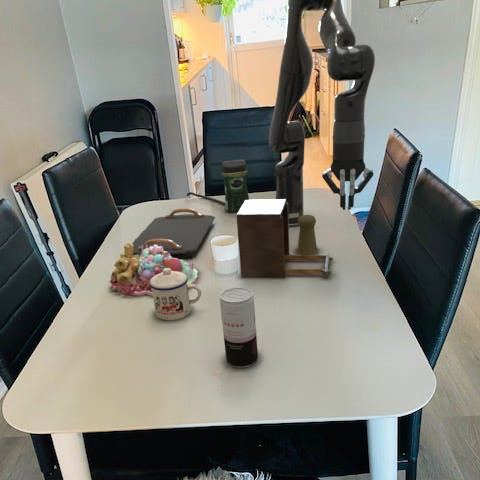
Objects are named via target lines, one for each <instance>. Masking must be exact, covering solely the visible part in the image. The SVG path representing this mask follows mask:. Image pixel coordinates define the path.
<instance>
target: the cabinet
mask: <svg viewBox="0 0 480 480" xmlns="http://www.w3.org/2000/svg"><path fill="white" fill-rule="evenodd" d="M235 216H236V227H237V228H236V229H237V239H238V251H239V252H238V253H239V263H240V273H241V274H240V276H241V278H243V279H245V278H246V279H247V278H250V279H252V278H253V279H254V278H257V279H258V278H259V279H285V278H286V275H285V269H286V267H285V265H286V262H285V263H284V255H291V254H290V226H289V221H288V203H286V199H276V198H272V199H270V198H269V199H249V200H245V202H244V203H243V205H242V206H241V208H240V210H239V211H238V212H236V215H235Z"/></svg>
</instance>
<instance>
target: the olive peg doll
mask: <svg viewBox="0 0 480 480" xmlns="http://www.w3.org/2000/svg"><path fill="white" fill-rule="evenodd" d="M316 223H317V219H316V217H315V216H314V215H313V214H304V215H302V216H300V217H299V219H298V225H297V226H298V227H299V232H298V241H297V242H298V243H297V250H296V253H297V254H298V255H315V254H316V253H317V252H318V245H317V238H316V232H315V226H316Z"/></svg>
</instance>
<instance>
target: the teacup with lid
mask: <svg viewBox="0 0 480 480" xmlns="http://www.w3.org/2000/svg"><path fill="white" fill-rule="evenodd" d="M187 281H188V279H187V276H186V275H185V274H184V273H181V272H177V271H171V269H170V268H164V269H163V272H162V273H160V274H157V275H155V276H154V277H152V279H151V280H150V287H151V289H152V294H153V296H152V299H153V306H154V310H155V315H156V317H157V318H158V319H160V320H164V321H176V320H181V319H183V318H185V317H187V316H188V315H189V314H190V312H191V310H192V308H191V305H193V304H196V303H198V302H199V301H200V299H201V297H202V290H201V288H200V286H198V285H197V284H195V283H194V284H187ZM188 288H189V289H194V290H196V292H197V297H195V298H194V299H190V294H189V293H190V291H189V289H188Z"/></svg>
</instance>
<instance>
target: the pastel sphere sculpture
mask: <svg viewBox="0 0 480 480" xmlns="http://www.w3.org/2000/svg"><path fill="white" fill-rule="evenodd" d="M123 251H124V253H121V254H119V256H120V257H119V258H118V259H117V260H116V261H115V262H114V265H113V266H114V267H115V268H114V269H113V271H111V272H112V273H111V275H110V280H109V283H110V285H109V288H110V290H114V291H113V294H114V293H118V292H119V291H122V293H121V296H133V295H134V296H143V295H148V296H151V297H153V294H152V289H151V287H150V280H151V279H152V277H154V276H155V275H157V274H160V273H162V272H163V269H164V268H170V269H171V271H177V272H181V273H184V274H185V275H186V276H187V279H188V281H187V284H194V285H195V283H196V281H197V280H198V279H199V276H198V275H199V271H198V270H197V269H196V268H195V267H194V263H193V261H192V262H191V261H190V262H189V264H188V263H187V262H186V261H185V260H184V259H179V258H177V257H173V256H172V255H170V254H169V253H168V252H167V251H164V250H163V247H162V246H159V247H158V246H157V245H153V246H151V245H150V247H149V248H147V244H146V249H144V250H143V245H142V254H140V255H138V254H137V255H133V251H134V248H133V244H132V243H126V244H124V245H123ZM189 289H190V288H188V290H189Z"/></svg>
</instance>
